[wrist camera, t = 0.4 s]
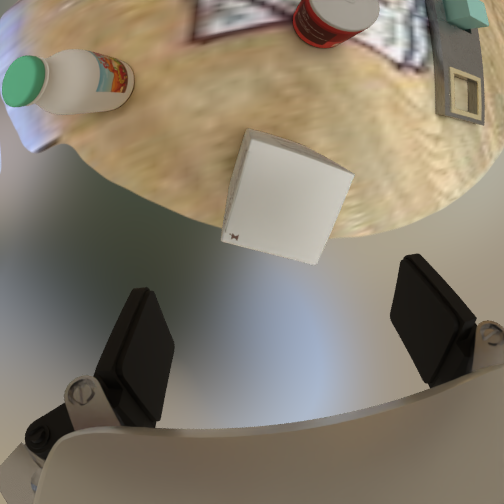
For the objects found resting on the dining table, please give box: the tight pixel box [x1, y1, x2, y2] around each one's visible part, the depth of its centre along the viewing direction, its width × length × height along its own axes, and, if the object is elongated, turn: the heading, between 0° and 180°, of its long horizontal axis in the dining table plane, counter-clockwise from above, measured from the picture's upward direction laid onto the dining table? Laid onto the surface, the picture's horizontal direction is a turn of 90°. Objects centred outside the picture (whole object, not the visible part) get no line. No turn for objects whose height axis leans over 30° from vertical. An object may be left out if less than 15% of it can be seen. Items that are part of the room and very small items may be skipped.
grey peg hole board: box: [425, 0, 485, 126], centre depth 26 cm, size 24×10×3 cm, turn 3°
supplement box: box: [221, 128, 355, 265], centre depth 30 cm, size 10×9×17 cm
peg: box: [442, 0, 489, 30], centre depth 20 cm, size 4×4×8 cm
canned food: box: [293, 0, 380, 48], centre depth 23 cm, size 8×8×11 cm
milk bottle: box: [2, 49, 134, 115], centre depth 22 cm, size 8×8×20 cm
